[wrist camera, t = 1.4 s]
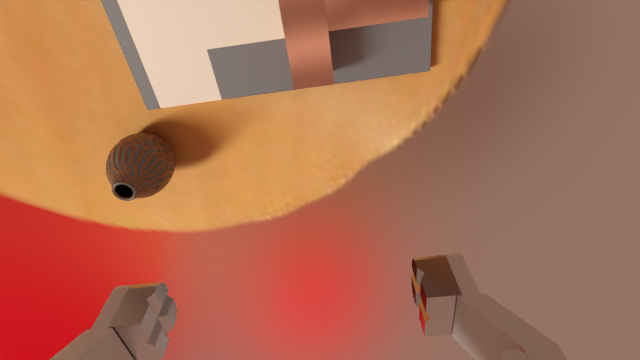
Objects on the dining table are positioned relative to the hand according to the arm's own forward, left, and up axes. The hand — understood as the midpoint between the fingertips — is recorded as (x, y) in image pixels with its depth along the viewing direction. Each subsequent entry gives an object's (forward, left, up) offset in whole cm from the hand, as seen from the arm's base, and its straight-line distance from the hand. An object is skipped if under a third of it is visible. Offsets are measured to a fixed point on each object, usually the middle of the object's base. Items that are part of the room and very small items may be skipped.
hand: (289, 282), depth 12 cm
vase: (+11, -20, -33) cm, 40 cm away
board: (-3, -3, -32) cm, 32 cm away
